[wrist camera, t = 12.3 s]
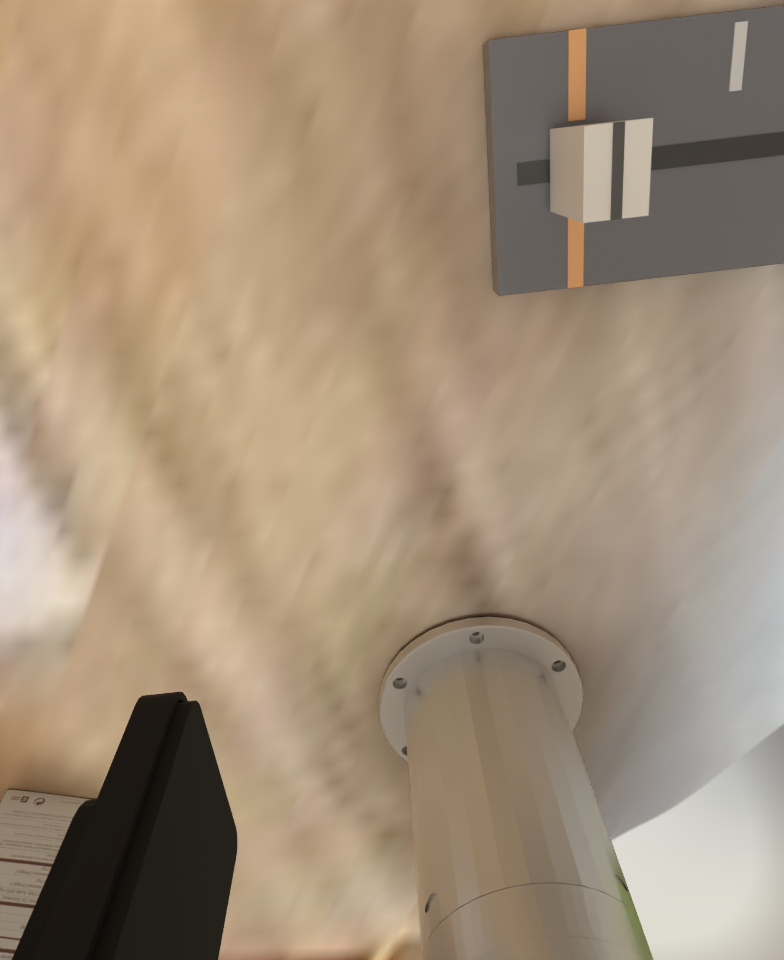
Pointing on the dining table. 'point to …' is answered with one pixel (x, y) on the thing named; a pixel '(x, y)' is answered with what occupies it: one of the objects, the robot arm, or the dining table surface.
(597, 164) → the fader knob
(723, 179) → the fader board
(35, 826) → the supplement box
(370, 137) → the dining table surface
